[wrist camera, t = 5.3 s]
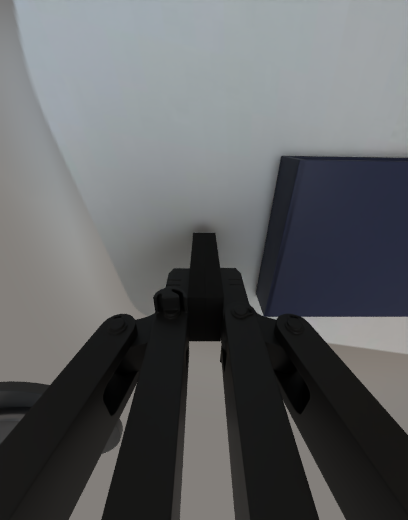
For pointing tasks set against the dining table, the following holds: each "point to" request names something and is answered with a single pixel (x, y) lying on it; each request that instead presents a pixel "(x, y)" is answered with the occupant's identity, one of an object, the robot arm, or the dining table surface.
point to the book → (337, 239)
